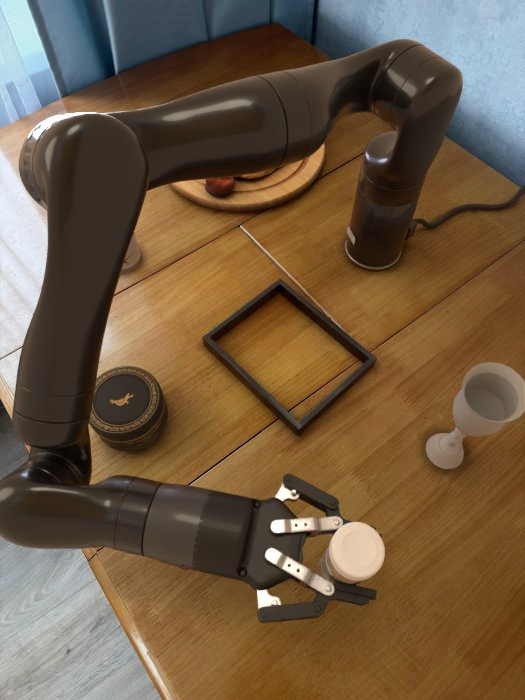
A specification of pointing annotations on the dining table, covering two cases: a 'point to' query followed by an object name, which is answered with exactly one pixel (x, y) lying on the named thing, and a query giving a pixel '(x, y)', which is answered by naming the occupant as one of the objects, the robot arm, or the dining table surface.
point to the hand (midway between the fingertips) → (376, 566)
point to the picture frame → (316, 317)
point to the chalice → (479, 410)
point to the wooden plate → (254, 186)
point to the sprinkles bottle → (352, 554)
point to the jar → (128, 409)
